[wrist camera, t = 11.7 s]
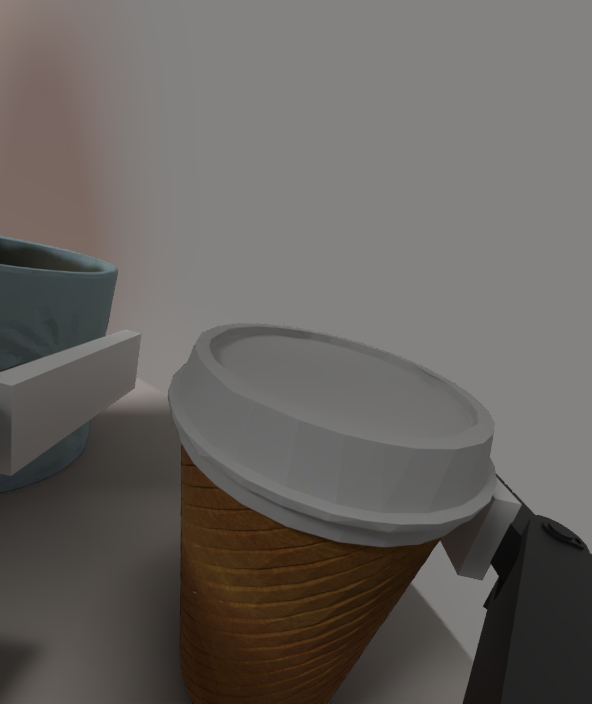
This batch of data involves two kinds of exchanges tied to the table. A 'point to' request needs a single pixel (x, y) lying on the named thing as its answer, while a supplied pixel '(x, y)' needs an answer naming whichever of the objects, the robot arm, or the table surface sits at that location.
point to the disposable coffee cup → (309, 502)
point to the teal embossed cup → (50, 324)
